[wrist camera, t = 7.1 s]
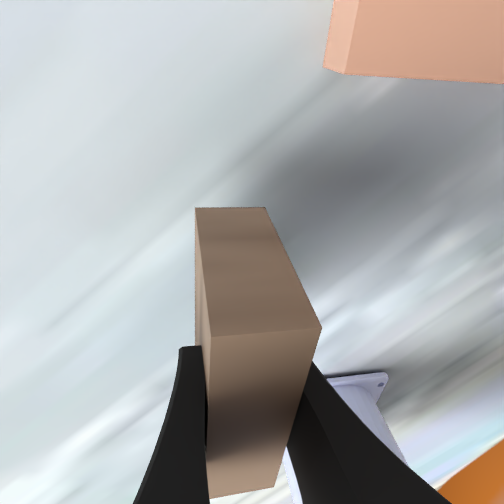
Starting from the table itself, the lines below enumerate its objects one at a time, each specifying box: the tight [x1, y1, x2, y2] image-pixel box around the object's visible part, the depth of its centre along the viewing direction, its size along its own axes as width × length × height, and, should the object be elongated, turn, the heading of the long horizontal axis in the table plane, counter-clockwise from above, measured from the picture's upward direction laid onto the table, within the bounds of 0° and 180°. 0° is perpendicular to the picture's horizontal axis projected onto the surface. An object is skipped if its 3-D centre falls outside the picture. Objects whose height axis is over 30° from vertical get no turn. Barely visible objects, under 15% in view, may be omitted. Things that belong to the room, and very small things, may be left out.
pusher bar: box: [195, 207, 322, 499], centre depth 12 cm, size 8×2×6 cm, turn 174°
